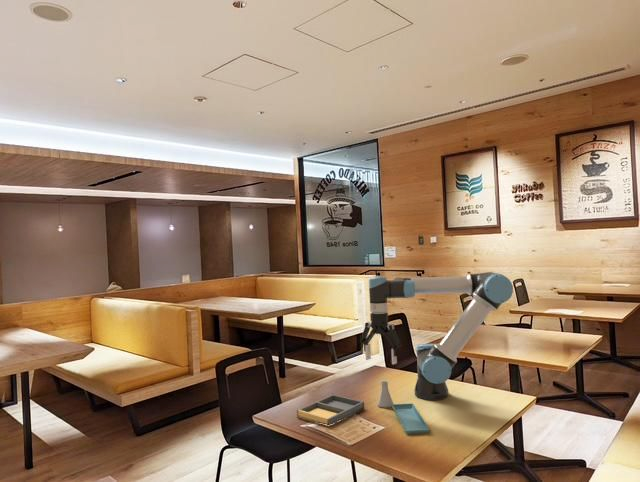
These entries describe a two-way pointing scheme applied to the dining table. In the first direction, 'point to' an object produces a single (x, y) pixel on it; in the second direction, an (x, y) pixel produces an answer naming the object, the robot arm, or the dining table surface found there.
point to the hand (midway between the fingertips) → (381, 361)
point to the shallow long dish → (410, 419)
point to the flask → (385, 396)
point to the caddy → (330, 409)
